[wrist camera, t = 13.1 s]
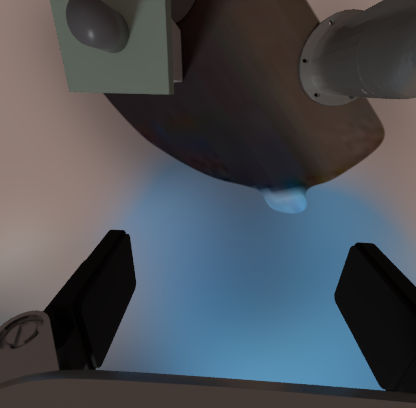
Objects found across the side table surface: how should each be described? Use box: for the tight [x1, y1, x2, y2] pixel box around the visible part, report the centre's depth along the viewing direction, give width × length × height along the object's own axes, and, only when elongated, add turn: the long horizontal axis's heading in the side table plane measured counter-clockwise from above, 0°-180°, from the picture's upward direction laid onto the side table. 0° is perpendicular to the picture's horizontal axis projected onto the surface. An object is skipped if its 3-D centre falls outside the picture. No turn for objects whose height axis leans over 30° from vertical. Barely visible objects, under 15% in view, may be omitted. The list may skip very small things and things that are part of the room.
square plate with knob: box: [50, 0, 174, 94], centre depth 20 cm, size 10×10×7 cm
